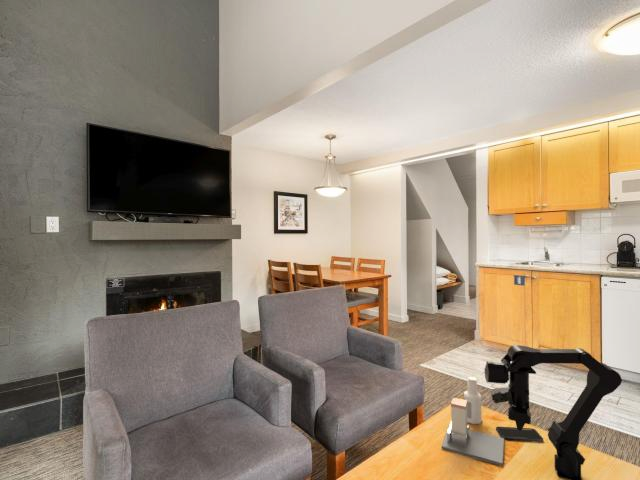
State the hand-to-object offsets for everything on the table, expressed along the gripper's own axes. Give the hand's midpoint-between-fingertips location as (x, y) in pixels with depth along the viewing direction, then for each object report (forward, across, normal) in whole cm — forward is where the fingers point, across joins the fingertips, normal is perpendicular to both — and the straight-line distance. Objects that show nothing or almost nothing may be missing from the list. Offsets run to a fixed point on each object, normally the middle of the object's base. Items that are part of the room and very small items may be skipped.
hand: (519, 429), depth 116 cm
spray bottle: (+13, -24, -17) cm, 32 cm away
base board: (+13, -6, -15) cm, 21 cm away
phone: (+14, -21, 0) cm, 25 cm away
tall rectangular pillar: (+12, -6, -20) cm, 24 cm away
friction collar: (+12, -6, -20) cm, 24 cm away
